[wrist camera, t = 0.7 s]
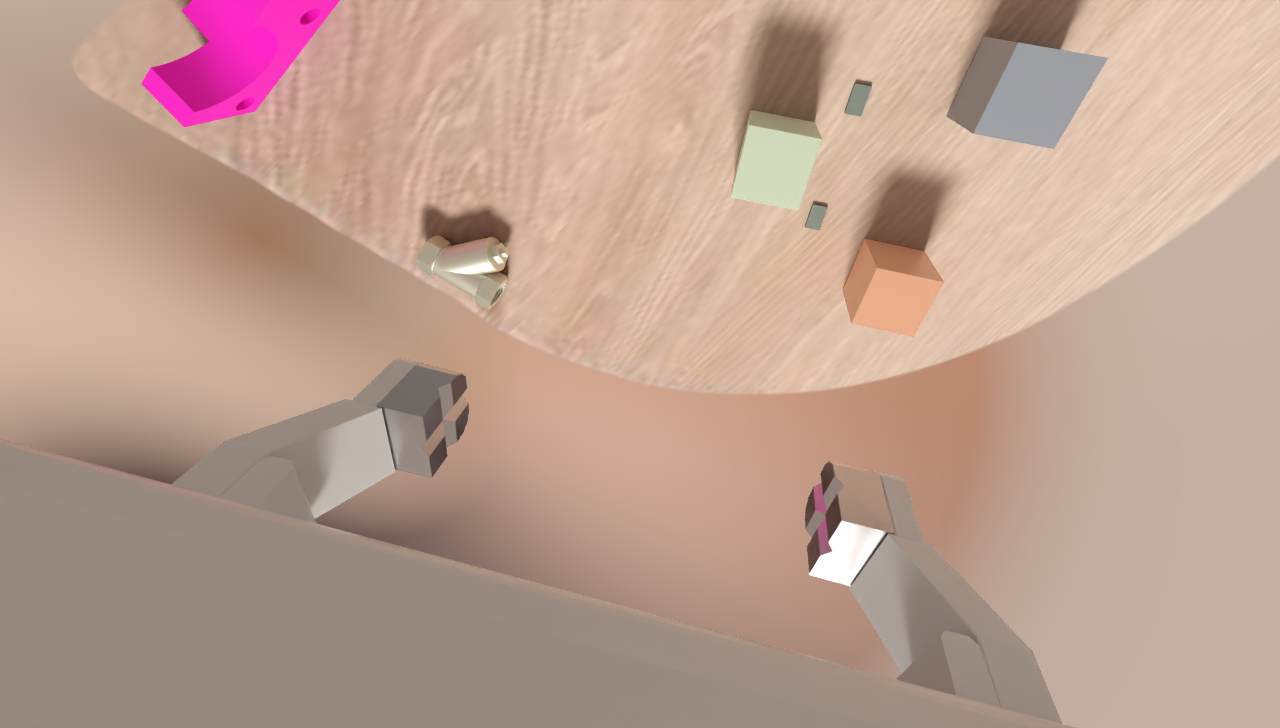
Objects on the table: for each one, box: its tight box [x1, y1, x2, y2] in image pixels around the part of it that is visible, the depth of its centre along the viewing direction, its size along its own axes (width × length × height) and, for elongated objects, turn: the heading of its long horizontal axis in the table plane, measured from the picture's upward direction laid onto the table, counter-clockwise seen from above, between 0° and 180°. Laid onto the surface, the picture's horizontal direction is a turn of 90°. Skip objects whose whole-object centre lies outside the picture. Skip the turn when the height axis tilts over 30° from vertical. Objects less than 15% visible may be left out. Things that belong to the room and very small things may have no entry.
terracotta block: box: [843, 239, 944, 337], centre depth 43 cm, size 5×5×6 cm
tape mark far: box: [805, 204, 827, 230], centre depth 43 cm, size 2×1×1 cm, turn 172°
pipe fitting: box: [417, 235, 510, 310], centre depth 50 cm, size 8×4×7 cm
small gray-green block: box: [845, 83, 872, 116], centre depth 38 cm, size 2×1×1 cm, turn 172°
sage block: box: [731, 110, 822, 211], centre depth 39 cm, size 5×5×6 cm
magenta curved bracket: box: [142, 0, 340, 127], centre depth 40 cm, size 15×6×8 cm, turn 125°
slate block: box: [947, 36, 1108, 149], centre depth 34 cm, size 5×5×6 cm
